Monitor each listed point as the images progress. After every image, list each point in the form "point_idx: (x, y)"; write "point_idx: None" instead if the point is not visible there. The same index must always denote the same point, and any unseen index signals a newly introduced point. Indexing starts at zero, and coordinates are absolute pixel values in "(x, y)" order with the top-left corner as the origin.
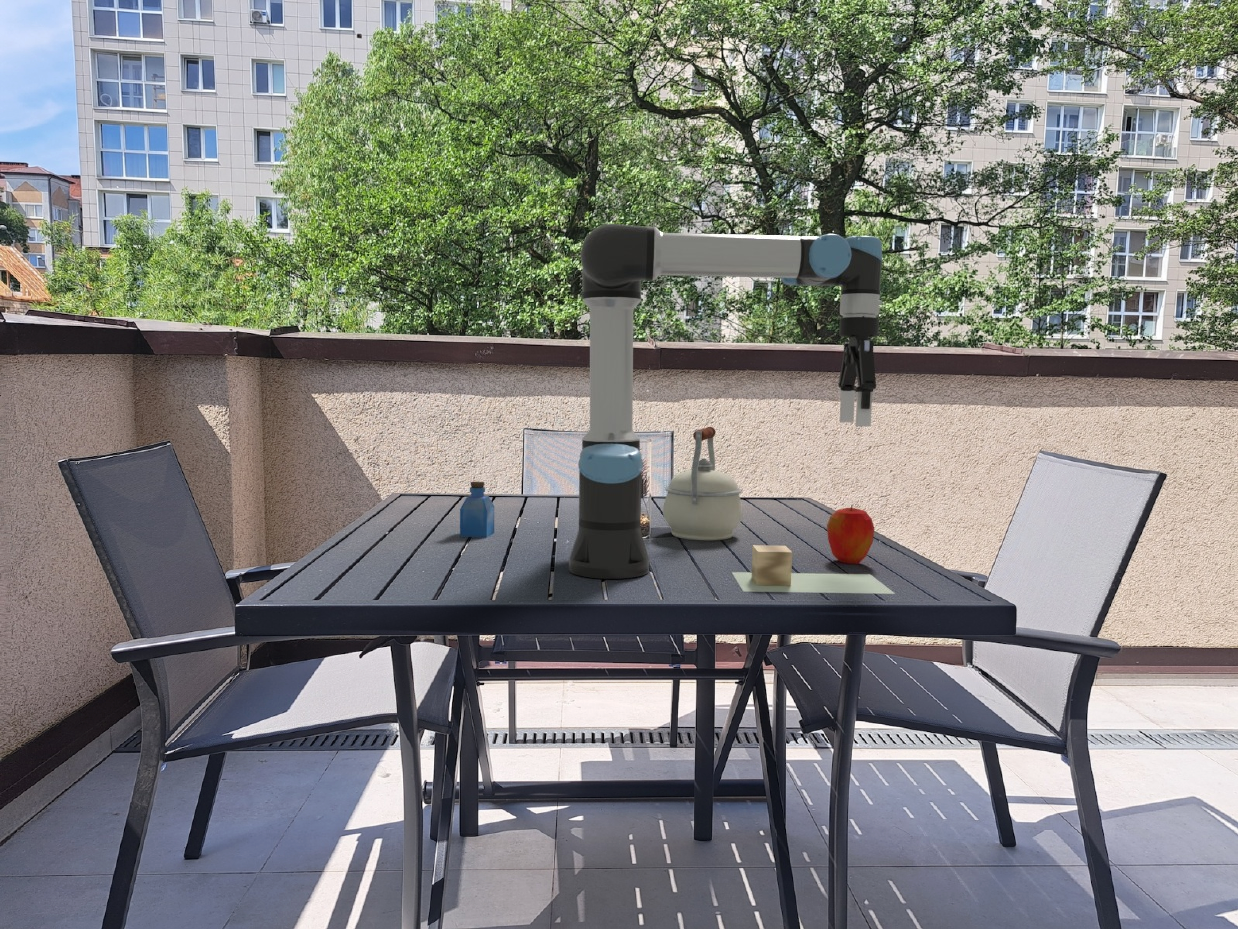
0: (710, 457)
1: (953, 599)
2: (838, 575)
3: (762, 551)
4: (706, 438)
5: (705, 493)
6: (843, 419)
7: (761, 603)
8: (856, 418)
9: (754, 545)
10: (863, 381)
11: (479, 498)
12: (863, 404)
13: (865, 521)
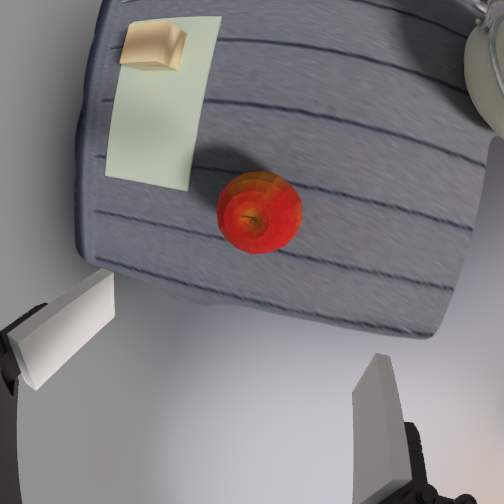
0: None
1: (97, 227)
2: (184, 145)
3: (129, 29)
4: None
5: (490, 38)
6: (370, 371)
7: (102, 37)
8: (88, 281)
9: (165, 22)
10: None
11: None
12: (32, 312)
13: (218, 225)
